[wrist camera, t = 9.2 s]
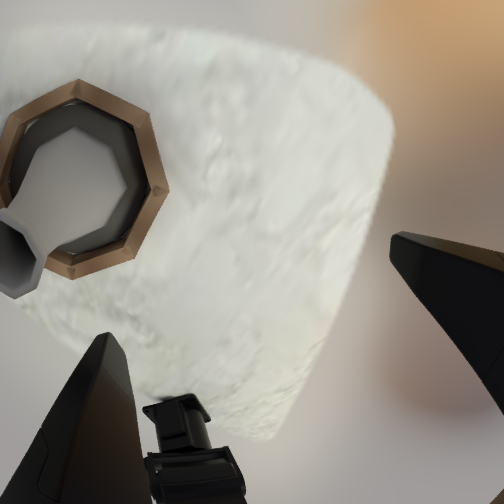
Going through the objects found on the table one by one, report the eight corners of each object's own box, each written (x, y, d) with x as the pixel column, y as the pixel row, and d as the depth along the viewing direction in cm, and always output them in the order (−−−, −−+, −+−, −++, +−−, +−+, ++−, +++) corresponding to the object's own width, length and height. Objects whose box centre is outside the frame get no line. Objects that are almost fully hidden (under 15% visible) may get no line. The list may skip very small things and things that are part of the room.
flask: (74, 256, 17) (35, 363, 9) (9, 184, 13) (-78, 252, 5) (147, 188, 17) (141, 266, 9) (79, 104, 13) (0, 102, 5)
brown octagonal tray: (182, 233, 20) (184, 242, 18) (41, 282, 17) (36, 293, 16) (138, 62, 13) (136, 57, 12) (-17, 136, 11) (-27, 139, 10)
